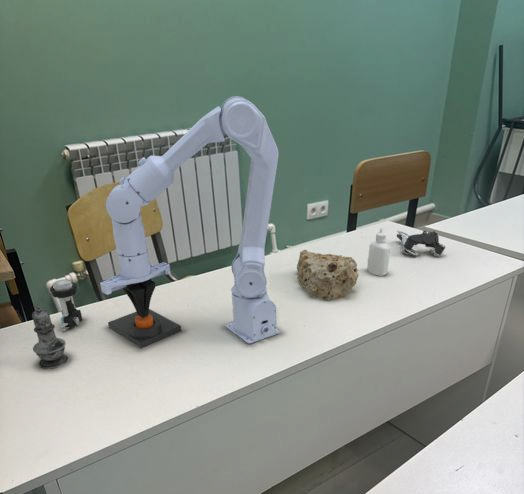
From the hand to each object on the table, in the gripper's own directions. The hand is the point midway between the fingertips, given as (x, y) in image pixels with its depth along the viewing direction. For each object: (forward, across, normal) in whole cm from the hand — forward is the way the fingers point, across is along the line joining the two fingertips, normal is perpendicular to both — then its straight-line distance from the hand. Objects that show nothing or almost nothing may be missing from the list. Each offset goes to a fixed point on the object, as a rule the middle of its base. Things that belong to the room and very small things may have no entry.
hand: (143, 315), depth 98 cm
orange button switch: (+5, -2, -3) cm, 6 cm away
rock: (+5, -47, +11) cm, 49 cm away
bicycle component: (+5, -86, +14) cm, 88 cm away
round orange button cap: (+2, 0, 0) cm, 2 cm away
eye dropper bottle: (+5, -63, +15) cm, 65 cm away
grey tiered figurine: (+5, +18, -5) cm, 19 cm away
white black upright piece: (+5, +9, -16) cm, 19 cm away
